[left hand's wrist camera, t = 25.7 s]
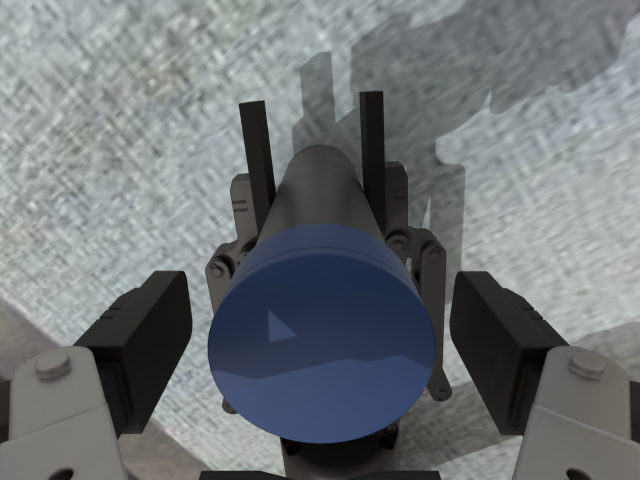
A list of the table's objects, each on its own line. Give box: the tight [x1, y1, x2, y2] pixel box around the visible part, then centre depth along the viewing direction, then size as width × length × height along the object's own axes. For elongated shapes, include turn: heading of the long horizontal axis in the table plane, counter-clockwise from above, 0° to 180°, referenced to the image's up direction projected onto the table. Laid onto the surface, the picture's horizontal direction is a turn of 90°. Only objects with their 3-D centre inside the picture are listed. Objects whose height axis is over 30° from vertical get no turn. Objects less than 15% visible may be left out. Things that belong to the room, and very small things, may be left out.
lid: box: [208, 223, 436, 443], centre depth 10 cm, size 5×5×2 cm
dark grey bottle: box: [256, 145, 386, 246], centre depth 18 cm, size 5×5×18 cm
